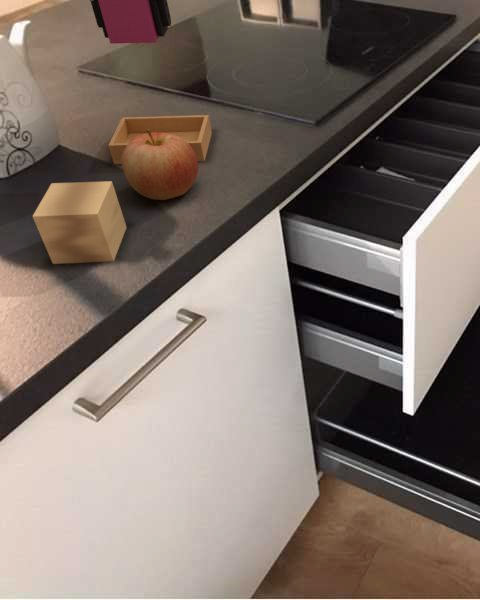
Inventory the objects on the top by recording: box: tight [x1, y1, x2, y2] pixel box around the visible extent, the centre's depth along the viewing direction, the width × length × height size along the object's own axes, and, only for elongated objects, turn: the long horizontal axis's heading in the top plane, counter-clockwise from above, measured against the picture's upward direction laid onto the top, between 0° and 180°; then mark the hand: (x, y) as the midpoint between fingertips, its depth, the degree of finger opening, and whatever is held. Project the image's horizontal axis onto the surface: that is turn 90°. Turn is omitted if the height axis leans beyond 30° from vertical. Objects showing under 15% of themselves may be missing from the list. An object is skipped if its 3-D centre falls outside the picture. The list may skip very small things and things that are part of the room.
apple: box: [121, 129, 199, 201], centre depth 74 cm, size 8×8×8 cm
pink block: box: [98, 0, 160, 45], centre depth 73 cm, size 5×5×5 cm
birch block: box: [32, 180, 127, 265], centre depth 67 cm, size 6×6×6 cm
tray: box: [107, 114, 213, 165], centre depth 83 cm, size 11×8×3 cm
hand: (137, 31), depth 74 cm, fingers closed on pink block, 5 cm apart
